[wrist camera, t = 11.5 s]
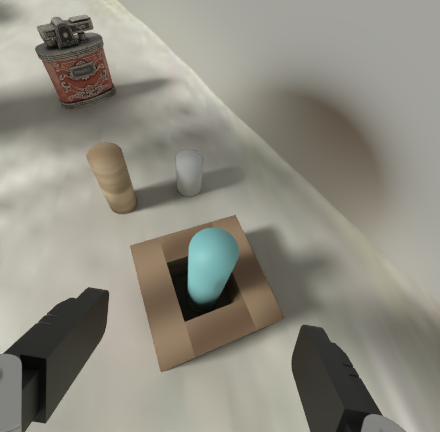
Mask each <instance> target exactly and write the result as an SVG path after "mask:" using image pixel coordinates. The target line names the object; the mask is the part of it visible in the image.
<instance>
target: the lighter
mask: <svg viewBox="0 0 440 432" xmlns="http://www.w3.org/2000/svg"><path fill="white" fill-rule="evenodd" d="M37 29H38V31H39V34H40V36H41V38H42V39H43V41H44V42H45V43H43V44H40V45H38V46H37V47H36V48H35V50H36V53H37V55H38V57H39V58H40V59H41V60H42V62H43V64H44V66H45V68H46V70H47V72H48V74H49V76H50V78H51V80H52V83H53V85H54V87H55V89H56V91H57V93H58V95H59V100H60V102H61V105H62V107H64V108H65V109H69V110H72V109H77V108H81V107H85V106H89V105H92V104H95V103H98V102H100V101H103V100H105V99H107V98H109V97H111V96H113V95H114V94H115V93H116V90H115V86H114V84H113V83H112V80H111V76H110V72H109V68H108V64H107V61H106V57H105V53H104V49H103V40H102V37H101V36H100V35H99V34H96V33H84V32H83V31H88V30H92V29H93V25H92V21H91V18H90V17H88V15H80V16H76V17H71V18H69V20H64V21H63V20H62V19H61V18H59V17H54V18H52V19H51V23H50V24H45V25H40V26H38V27H37ZM75 33H77V34H76V35H73V34H75ZM52 39H53V40H52Z"/></svg>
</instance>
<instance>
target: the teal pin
mask: <svg viewBox="0 0 440 432" xmlns="http://www.w3.org/2000/svg"><path fill="white" fill-rule="evenodd" d="M238 257H239V247H238V244H237V242H236V240H235V238H234V237H233V236H232V235H231V234H230V233H229V232H227V231H225V230H223V229H220V228H206V229H203V230H201V231H199V232H198V233H196V234H195V235H194V237H193V238H192V239H191V242H190V244H189V257H188V302H189V304H190V306H191V307H192V308H193V309H194V310H196V311H199V312H206V311H209V310H211V309H212V308H213V307H214V306H215V304H216V302H217V300H218V298H219V296H220V294H221V292H222V290H223V288H224V286H225V284H226V282H227V280H228V278H229V276H230V274H231V272H232V270H233V268H234V266H235V264H236V262H237V260H238Z"/></svg>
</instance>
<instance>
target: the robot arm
mask: <svg viewBox="0 0 440 432" xmlns="http://www.w3.org/2000/svg"><path fill="white" fill-rule="evenodd" d="M108 301H109V292H108V290H102V289H96V288H90V287H89V288H87V289H86V290H85V291H84V292H83V293H82V294H81V295H80V296H79V297H78V298H77V299H76V298H69V299H67V300H65V301H63V302H61V303H59V304H57V305H56V306H55V307H54V308H53V309H52V310H51V311H49V312H48V313H47V315H46V316H44V317H43V318H42V319H41V320H40V321H39V322H38V324H37V323H36V324H35V325H34V326H33V327H32V328H31V329H30V330H29V331H27V332H26V333H25V334H24V335H23V336H22V337H21V338H20V339H19V340H18V341H16V342H15V343H14V344H13V345H12V346H11V347H10V348H9V349H8V350H7V351H5V352H4V353H3V354H0V432H25V431H26V429H27V428H28V426H29V425H30V424H31V422H32V421H33V422H40V423H46V422H47V421H48V419H49V418H50V416H51V415H52V413H53V412H54V410H55V409H56V407H57V406H58V404H59V403H60V401H61V400H62V398H63V397H64V395H65V393H66V392H67V390H68V389H69V387H70V386H71V384H72V383H73V381H74V380H75V378H76V377H77V375H78V374H79V372H80V371H81V369H82V368H83V366H84V365H85V363H86V362H87V360H88V359H89V357H90V356H91V354H92V353H93V351H94V350H95V348H96V347H97V345H98V344H99V342H100V340H101V339H102V337H103V335H104V332H105V329H106V324H107V313H108ZM292 372H293V376H294V379H295V382H296V386H297V389H298V392H299V395H300V399H301V402H302V405H303V409H304V412H305V415H306V419H307V422H308V425H309V428H310V432H406V431H405V430H404V429H403V428H401V427H400V426H399V425H398V424H396V423H395V422H394V421H392V420H390V419H388V418H386V417H384V416H383V415H382V414H381V412H380V410H379V409H378V407H377V405H376V404H375V402H374V400H373V399H372V397H371V395H370V393H369V392H368V390H367V388H366V387H365V385H364V383H363V382H362V380H361V378H359V375H358V373H357V372H356V370H355V368H353V365H352V363H351V362H350V360H349V358H348V356H347V355H346V353H344V352H343V351H342V350H341V349H340V348H339V347H338V346H337V345H336V344H335V343H331V342H330V340H329V338H328V336H327V334H326V333H325V331H324V329H323V328H321V327H315V326H309V325H302V326H301V329H300V332H299V335H298V338H297V342H296V345H295V348H294V352H293V355H292Z"/></svg>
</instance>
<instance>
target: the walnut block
mask: <svg viewBox="0 0 440 432" xmlns="http://www.w3.org/2000/svg"><path fill="white" fill-rule="evenodd" d="M206 228H220V229H223V230H225V231H227V232H229V233H230V234H231V235H232V236H233V237H234V238H235V240H236V242H237V244H238V247H239V257H238V260H237V262H236V264H235V266H234V268H233V270H232V272H231V274H230V276H229V278H228V280H227V282H226V284H225V289H226V291H227V294H228V296H229V299H230V302H231V304H229V305H227V306H224V307H222V308H219V309H216V310H214V311H211V312H209V313H206V314H204V315H201V316H199V317H196V318H194V319H191V320H189V321H186V322H184V319H183V315H182V312H181V309H180V306H179V302H178V299H177V296H176V292H175V289H174V286H173V283H172V279H174V278H176V277H179V276H182V275H185V274H188V257H189V244H190V242H191V239H192V238H193V237H194V235H195V234H196V233H198V232H199V231H201V230H203V229H206ZM130 248H131V252H132V256H133V260H134V264H135V268H136V272H137V276H138V281H139V285H140V289H141V293H142V297H143V301H144V305H145V309H146V313H147V317H148V322H149V326H150V330H151V334H152V338H153V342H154V346H155V350H156V354H157V358H158V363H159V367H160V371H161V372H163V371H166V370H169V369H171V368H173V367H176V366H178V365H180V364H182V363H185V362H187V361H189V360H192V359H194V358H196V357H198V356H201V355H203V354H205V353H207V352H210V351H212V350H214V349H217V348H219V347H221V346H223V345H226V344H228V343H230V342H233V341H235V340H237V339H239V338H242V337H244V336H246V335H248V334H251V333H253V332H255V331H258V330H260V329H262V328H264V327H267V326H269V325H271V324H273V323H275V322H277V321H279V320H281V319H283V318H284V316H283V314H282V312H281V310H280V308H279V305H278V303H277V301H276V299H275V297H274V295H273V293H272V291H271V289H270V287H269V284H268V282H267V280H266V278H265V276H264V274H263V272H262V270H261V268H260V266H259V263H258V261H257V259H256V257H255V255H254V253H253V251H252V249H251V247H250V245H249V242H248V240H247V238H246V236H245V234H244V232H243V230H242V228H241V226H240V224H239V221H238V219H237V217H236V215H234V216H230V217H227V218H223V219H220V220H217V221H213V222H210V223H206V224H203V225H199V226H196V227H193V228H189V229H186V230H182V231H179V232H175V233H172V234H169V235H165V236H162V237H158V238H155V239H151V240H148V241H144V242H141V243H138V244H134V245H131V246H130Z"/></svg>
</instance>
